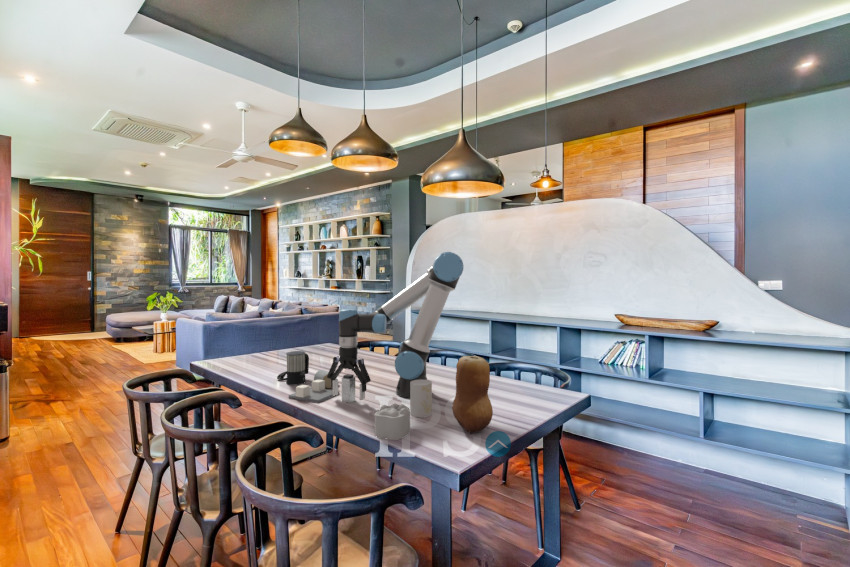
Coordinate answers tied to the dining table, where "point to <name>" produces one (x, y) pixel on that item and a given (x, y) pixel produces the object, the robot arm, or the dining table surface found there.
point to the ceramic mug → (323, 378)
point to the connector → (348, 388)
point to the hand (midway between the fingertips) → (348, 397)
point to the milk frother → (295, 367)
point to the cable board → (313, 392)
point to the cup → (421, 398)
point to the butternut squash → (472, 394)
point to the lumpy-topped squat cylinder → (392, 422)
